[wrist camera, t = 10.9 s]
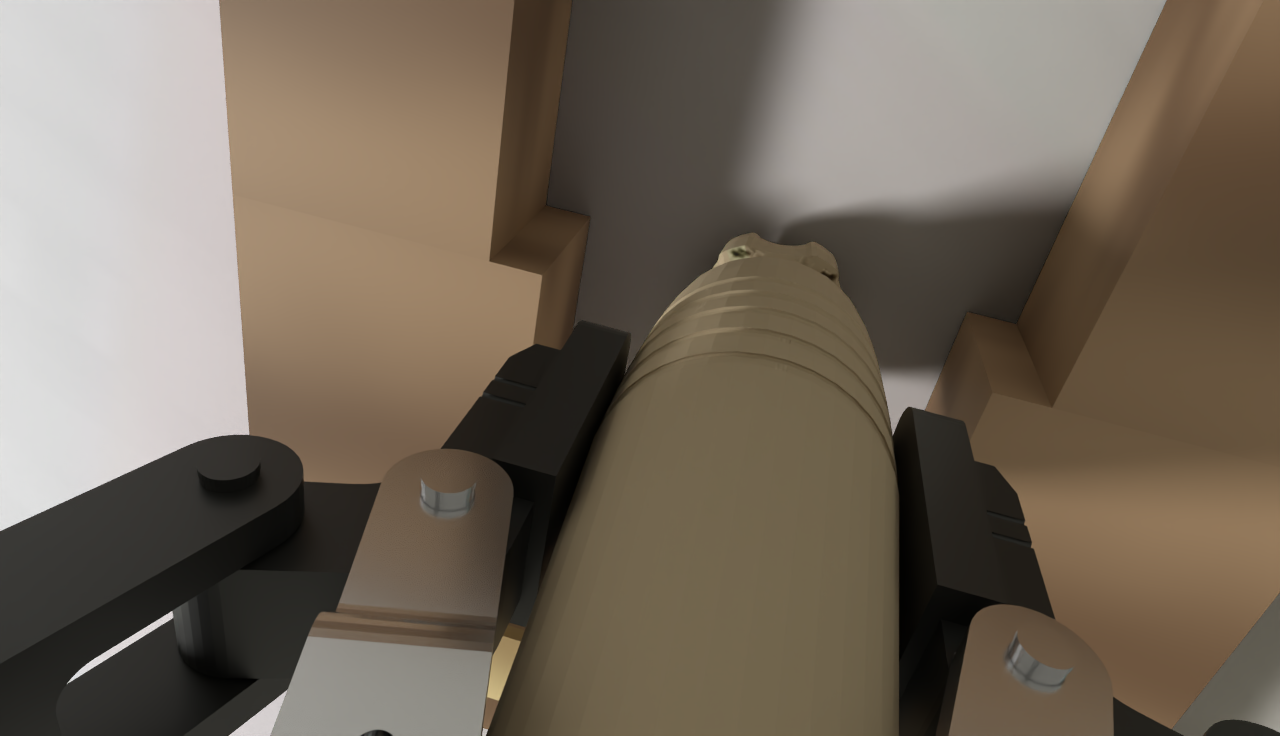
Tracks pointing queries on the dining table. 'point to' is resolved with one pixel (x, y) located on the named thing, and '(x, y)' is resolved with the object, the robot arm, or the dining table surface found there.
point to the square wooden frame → (972, 375)
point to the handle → (728, 527)
